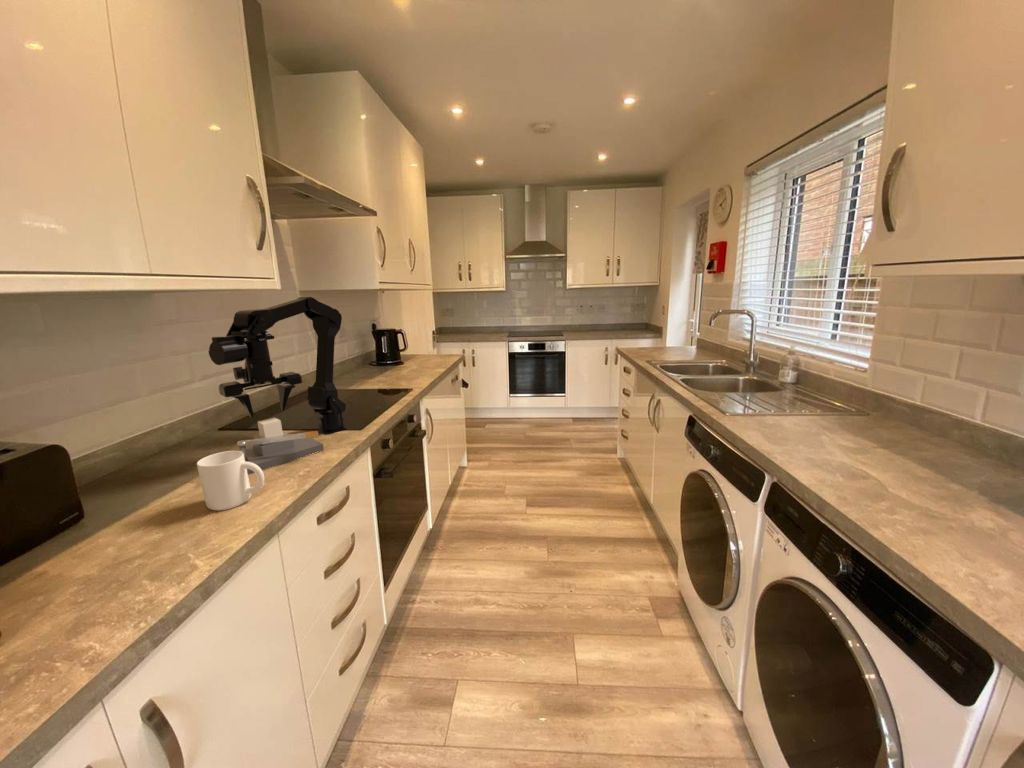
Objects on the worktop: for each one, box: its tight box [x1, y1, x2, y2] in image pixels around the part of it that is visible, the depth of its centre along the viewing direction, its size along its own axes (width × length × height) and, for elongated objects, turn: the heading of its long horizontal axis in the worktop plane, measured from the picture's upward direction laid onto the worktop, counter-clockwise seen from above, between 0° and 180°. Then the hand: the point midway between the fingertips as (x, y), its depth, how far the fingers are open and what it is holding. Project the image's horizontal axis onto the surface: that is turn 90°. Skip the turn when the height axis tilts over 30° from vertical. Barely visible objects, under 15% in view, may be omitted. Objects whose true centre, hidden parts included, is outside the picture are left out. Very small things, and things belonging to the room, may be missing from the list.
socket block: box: [237, 437, 325, 476], centre depth 113 cm, size 20×15×6 cm
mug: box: [196, 450, 265, 512], centre depth 88 cm, size 12×8×10 cm
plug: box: [253, 417, 290, 445], centre depth 113 cm, size 7×7×8 cm
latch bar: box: [236, 430, 319, 448], centre depth 108 cm, size 19×2×1 cm, turn 110°
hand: (267, 414), depth 112 cm, fingers open, 7 cm apart
